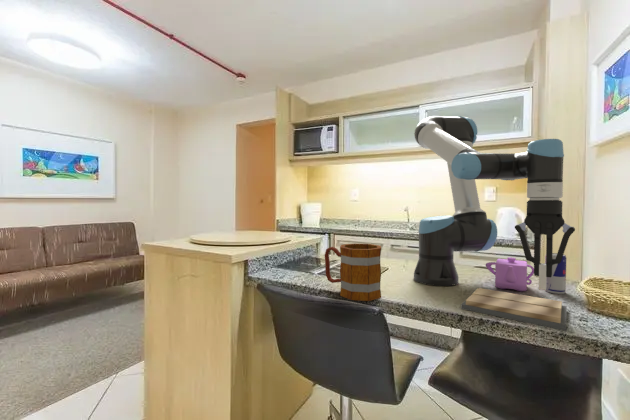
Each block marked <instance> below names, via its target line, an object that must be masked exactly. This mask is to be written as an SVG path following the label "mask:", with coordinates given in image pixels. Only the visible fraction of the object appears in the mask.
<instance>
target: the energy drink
mask: <svg viewBox="0 0 630 420" xmlns="http://www.w3.org/2000/svg"><path fill="white" fill-rule="evenodd" d="M557 253H558V252H553V253H552V259H555V258H556V256H557ZM544 264H546V254H545V255H544ZM566 286H567V256H566V254H565V253H564V254H563V257H562V260H561V263H559V264H554V265H552V276H551V278H550V277H547V284H546V290H544V291H545V292H547V293H549V294H555V295H564V294H566V289H567V287H566Z"/></svg>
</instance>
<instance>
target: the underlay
mask: <svg viewBox="0 0 630 420" xmlns="http://www.w3.org/2000/svg"><path fill="white" fill-rule="evenodd" d="M472 294H473V292H472V293H471V294H470V295H469V296H468V297H467V298H466V299H465V300H464V301H463V302H462V303H461V304H460V308H461V310H465V311H470V312H476V313H480V314H484V315H489V316H495V317H500V318H503V319H509V320H514V321H519V322H524V323H529V324H533V325H538V326H542V327H547V328H553V329H557V330H563V331H567V307H568V306H567V305H562V309H561V322H560V323H556V322H551V321H546V320H541V319H536V318H531V317H526V316H521V315H516V314H511V313H506V312H500V311H495V310H490V309H485V308H480V307H475V306H470V305H466V300H467V299H468V298H469V297H470V296H471V295H472Z"/></svg>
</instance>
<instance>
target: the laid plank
mask: <svg viewBox="0 0 630 420" xmlns="http://www.w3.org/2000/svg"><path fill="white" fill-rule="evenodd" d="M471 294H472V293H471ZM471 294H470V295H471ZM470 295H469V296H470ZM469 296H468V297H469ZM468 297H467V298H468ZM467 298H466V299H467ZM466 299H465V300H466ZM466 305H470V306H475V307H480V308H485V309H490V310H495V311H500V312H506V313H511V314H516V315H521V316H526V317H531V318H536V319H541V320H546V321H551V322H556V323H560V322H561V310H560V309H555V308H549V307H543V306H537V305H532V304H526V303H520V302H515V301H509V300H503V299H498V298H492V297H486V296H480V295H475V294H472V295H471V296H470V297H469V298H468V299H467V300H466Z"/></svg>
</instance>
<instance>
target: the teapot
mask: <svg viewBox="0 0 630 420" xmlns="http://www.w3.org/2000/svg"><path fill="white" fill-rule="evenodd" d="M492 265H494V266H495V268H493V267H492ZM485 267H486V269H487V270H488V271H489V272H490V273H491V274H492V275H494V276H495V277H494V284H495V285H494V287H495V288H498V289H500V290H506V289H508V290H515V291H517V292H527V288H528V287H527V285H529V286H531V284H532V283H533V282H532V279H531V278H532V276H534V266H533V265H530V264H528V261H527V260H526V261H525V260H520V259H519V260H518V259H517V260H516V257H506V258H497V259H496V262H495V261H494V262H493V261H491V262H486V263H485ZM528 268H530V269H531V271H530V272H529V274H528ZM528 281H529V282H528Z"/></svg>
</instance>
